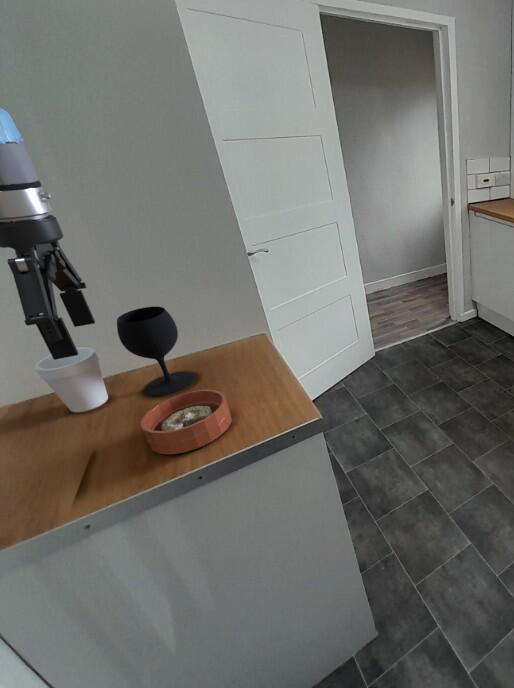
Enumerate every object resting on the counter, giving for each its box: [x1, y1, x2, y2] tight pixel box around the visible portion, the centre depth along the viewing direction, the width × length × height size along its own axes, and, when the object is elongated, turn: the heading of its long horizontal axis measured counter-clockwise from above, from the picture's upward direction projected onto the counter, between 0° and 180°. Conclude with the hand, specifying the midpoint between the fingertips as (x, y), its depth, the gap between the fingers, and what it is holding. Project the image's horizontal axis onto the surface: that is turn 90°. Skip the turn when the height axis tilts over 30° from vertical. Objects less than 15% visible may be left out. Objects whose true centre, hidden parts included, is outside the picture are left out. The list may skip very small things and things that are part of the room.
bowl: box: [140, 388, 233, 455], centre depth 87 cm, size 14×14×6 cm
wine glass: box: [116, 306, 196, 398], centre depth 99 cm, size 10×10×20 cm
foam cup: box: [34, 346, 109, 413], centre depth 93 cm, size 10×9×13 cm
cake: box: [161, 406, 212, 431], centre depth 87 cm, size 10×10×5 cm
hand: (76, 339), depth 71 cm, fingers open, 13 cm apart
